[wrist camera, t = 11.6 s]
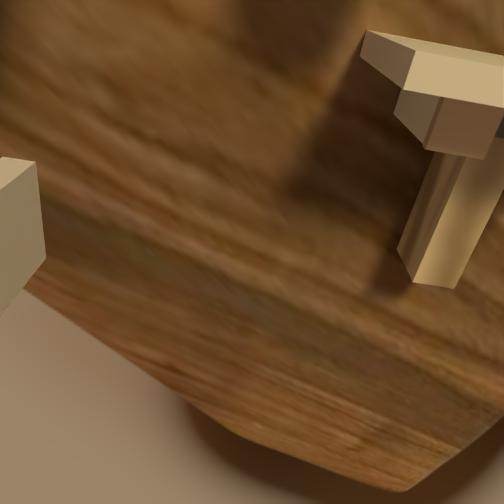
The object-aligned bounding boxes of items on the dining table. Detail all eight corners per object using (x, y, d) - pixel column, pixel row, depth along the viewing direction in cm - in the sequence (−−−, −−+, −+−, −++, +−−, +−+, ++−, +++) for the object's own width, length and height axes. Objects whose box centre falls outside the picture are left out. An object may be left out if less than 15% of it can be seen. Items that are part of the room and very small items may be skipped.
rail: (396, 249, 46) (412, 281, 40) (458, 90, 37) (488, 107, 32) (433, 255, 46) (454, 288, 41) (503, 99, 38) (540, 116, 32)
